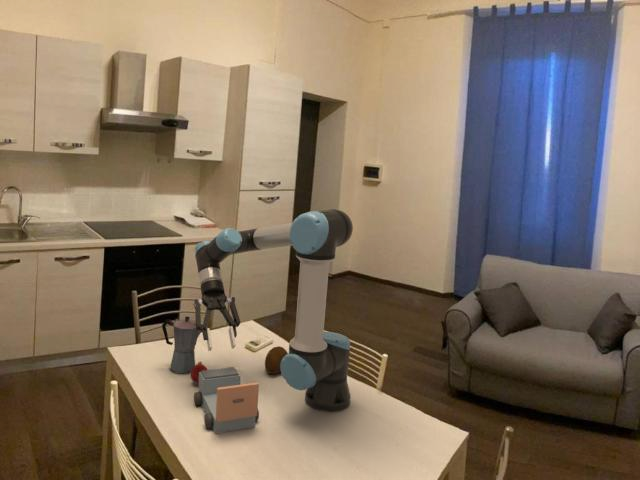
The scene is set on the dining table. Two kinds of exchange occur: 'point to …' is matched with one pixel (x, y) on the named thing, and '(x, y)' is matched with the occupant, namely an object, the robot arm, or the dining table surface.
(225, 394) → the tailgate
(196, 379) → the red rounded piece
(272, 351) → the potato
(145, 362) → the dining table surface
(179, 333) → the moka pot
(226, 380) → the pickup bed
